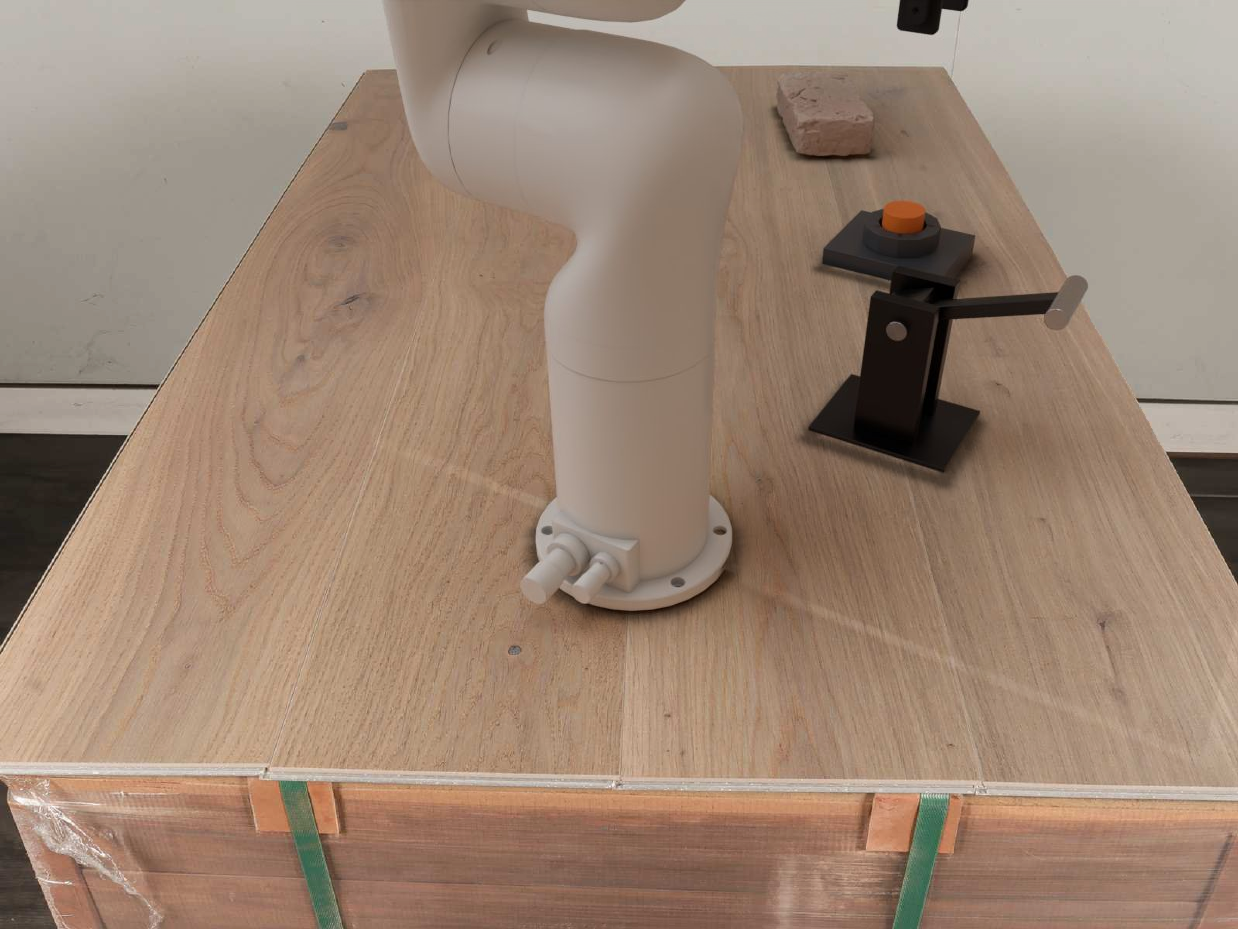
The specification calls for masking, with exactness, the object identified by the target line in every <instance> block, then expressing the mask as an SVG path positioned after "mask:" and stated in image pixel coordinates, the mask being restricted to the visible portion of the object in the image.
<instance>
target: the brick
mask: <svg viewBox="0 0 1238 929" xmlns="http://www.w3.org/2000/svg"><path fill="white" fill-rule="evenodd" d="M776 82H777V83H776V84H777V88H776V91H777V92H776V101H777V104H776V108H777V113H778V115H779V117H781V118H782V123H783V125H784V127H785V130H786V132H787V135H788V137H789V140H790V142H791V144H792V146H793V149H795V152H796V153H797V154H802V155H807V156H816V157H828V156H840V157H846V156H849V155H853V156H854V155H866V154H870V153H871V150H872V147H873V136H874V135H873V133H874V130H875V129H874V128H875V122H874V121H875V120H874V118H875V114H874V113H873V111H872V110H871V109H870V107H869V106H868V105H866V103H865V102H864V101H863V100H862V99H861V96H860V94H859V92H858V90H857V88H856V86H855V84H854V82H853V81H852V79H851V78H850V77H849V75H848V74H847V73H845V72H842V71H835V70H819V71H816V72H815V71H806V72H802V71H800V72H793V73H782V74H780V75H779V77H778V79H777V81H776Z"/></svg>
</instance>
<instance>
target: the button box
mask: <svg viewBox="0 0 1238 929" xmlns="http://www.w3.org/2000/svg"><path fill="white" fill-rule="evenodd" d="M883 211H884V208H881V209H877V210H873V211H867V210H862V209H861V210H860V211H858V213H857V214H856V215H855V216H854V217H852V219H851V220H850V221H849V222H848V223H847V224H845V226H844V227H842V228H841V229H840V231H839V232H838V233H837V234H836V235H835V236H834V237H833V238H832V239H831V240H830V241H829V242H828V243H827V244H826V245H825V246H824V247H823V250H822V260H821V264H822V265H825V266H828V267H833V268H837V269H842V270H845V271H849V272H853V273H858V274H861V275H865V276H869V277H874V278H878V279H882V280H886V281H890V282H891V278H892V271H893V270H894V269H895V268H896V267H897V266H902V267H906V268H911V269H915V270H919V271H923V272H927V273H932V274H936V275H940V276H944V277H948V278H953V279H956V278H957V276H958V275H959V274H960V273H961V271H963V269H964V267H965V266H967V263H968V262H969V261H970V260H971V259H972V257H973V251H974V247H975V241H976V235H975V234H972V233H967V232H963V231H957V230H953V229H950V228H949V229H948V228H944V227H942V226H941V223H940V222H939V219H938V218H937V217H935V216H933V215H932V214H930V213H929V212H925V218H924V225H923V230H922V231H920V232H916V233H913V234H900V233H896V232H891V231H888V230H886V229H884V228H882V219H883Z"/></svg>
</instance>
